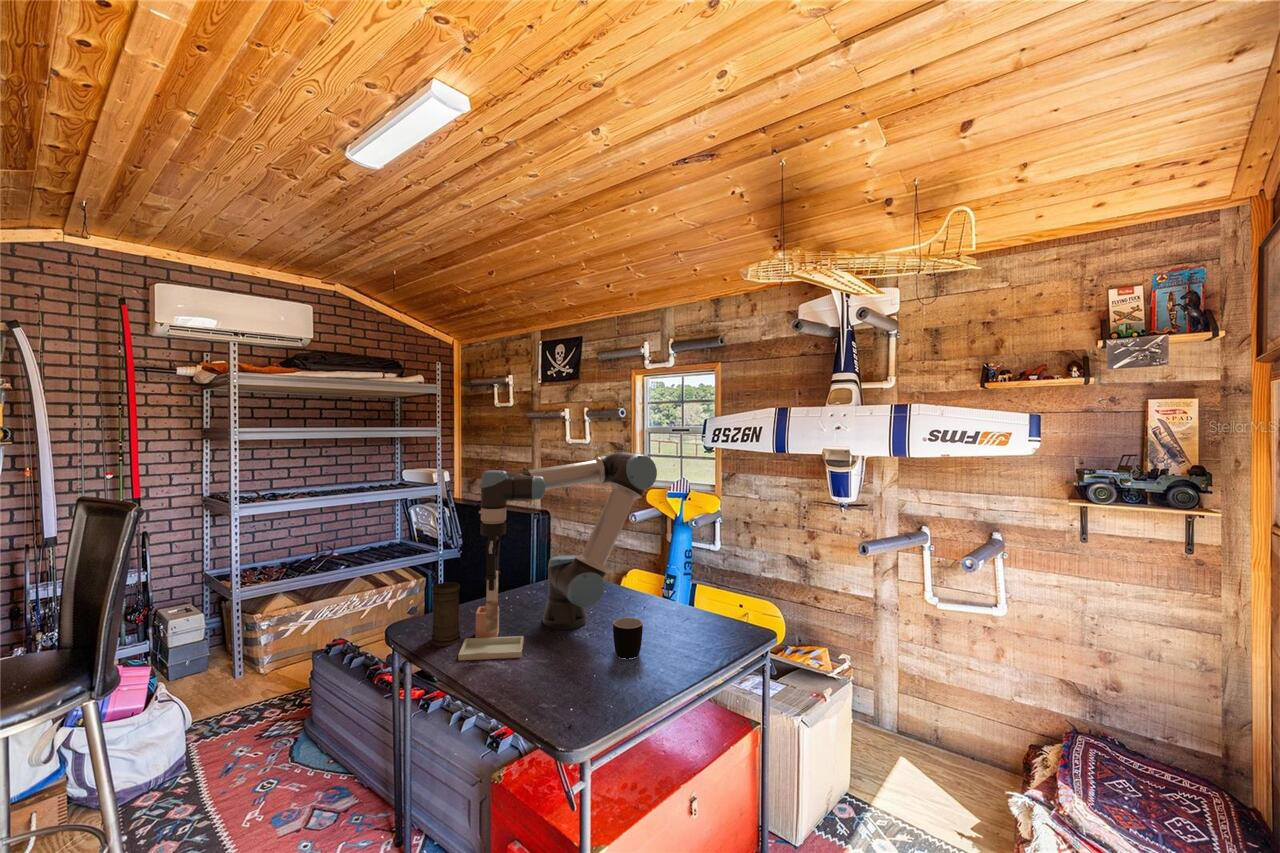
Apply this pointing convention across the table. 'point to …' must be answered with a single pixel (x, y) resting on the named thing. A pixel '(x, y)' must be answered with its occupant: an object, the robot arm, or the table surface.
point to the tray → (491, 648)
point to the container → (445, 614)
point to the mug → (627, 637)
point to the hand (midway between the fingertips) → (492, 598)
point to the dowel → (492, 611)
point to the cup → (484, 624)
